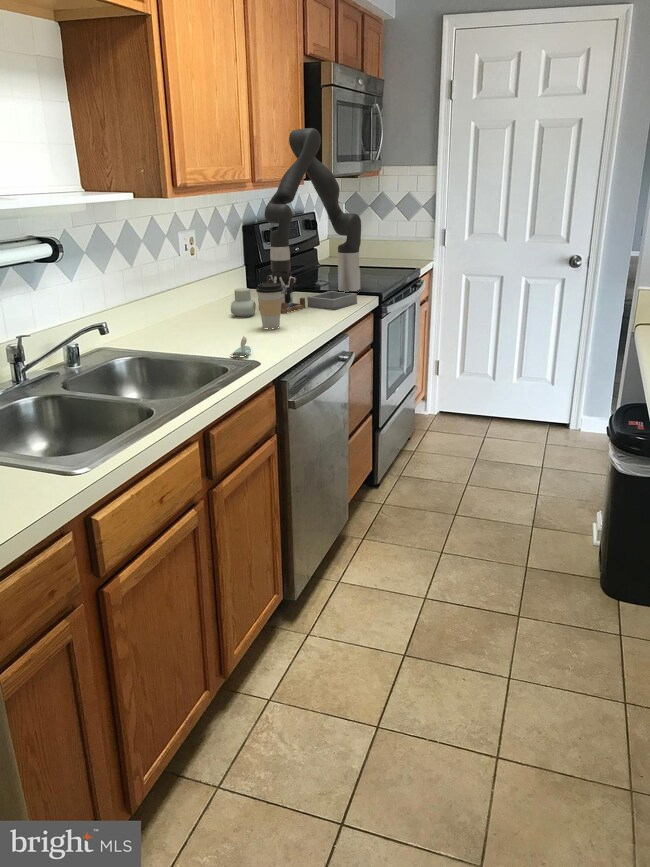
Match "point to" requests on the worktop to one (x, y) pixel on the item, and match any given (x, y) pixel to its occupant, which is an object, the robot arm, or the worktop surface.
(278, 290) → the coffee cup
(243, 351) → the pacifier
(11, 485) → the worktop surface
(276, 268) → the robot arm
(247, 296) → the air freshener
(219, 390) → the worktop surface
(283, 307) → the holder
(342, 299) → the tray
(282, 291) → the medicine box
